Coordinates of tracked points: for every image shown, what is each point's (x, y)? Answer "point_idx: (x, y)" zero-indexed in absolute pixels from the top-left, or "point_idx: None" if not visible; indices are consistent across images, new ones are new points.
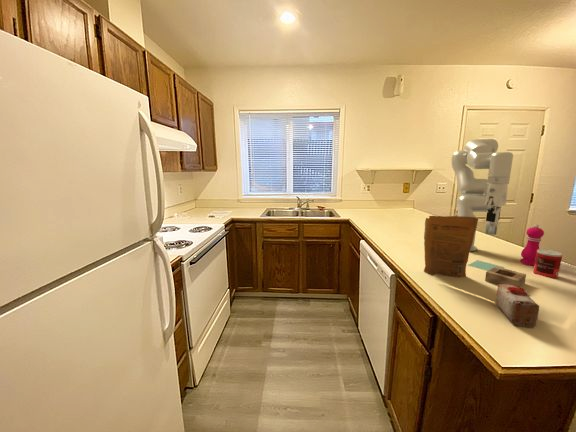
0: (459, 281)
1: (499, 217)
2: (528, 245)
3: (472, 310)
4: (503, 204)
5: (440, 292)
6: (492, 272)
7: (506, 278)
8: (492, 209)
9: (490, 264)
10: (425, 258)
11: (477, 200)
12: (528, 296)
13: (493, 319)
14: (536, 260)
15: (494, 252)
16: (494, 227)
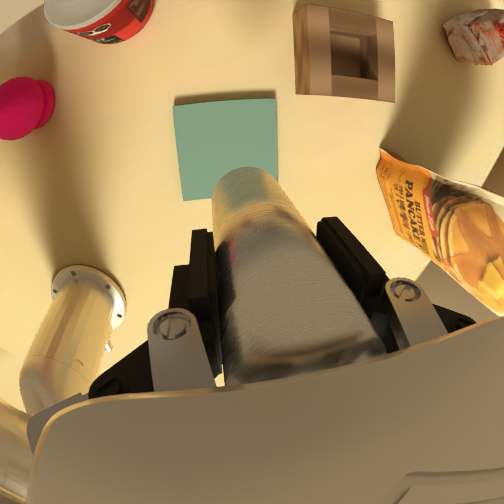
0: (409, 151)
1: (192, 246)
2: (1, 119)
3: (493, 94)
4: (299, 407)
5: (476, 158)
6: (385, 86)
7: (393, 47)
8: (469, 320)
9: (190, 149)
10: (433, 259)
11: (18, 469)
12: (500, 19)
13: (493, 63)
14: (124, 19)
15: (30, 226)
16: (282, 194)
